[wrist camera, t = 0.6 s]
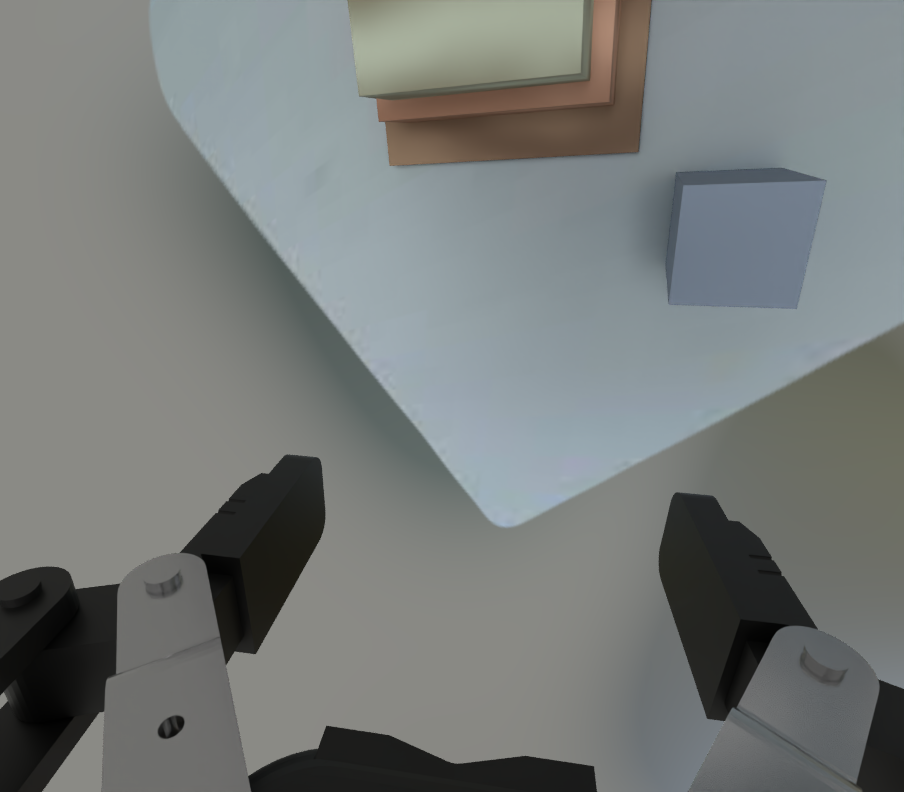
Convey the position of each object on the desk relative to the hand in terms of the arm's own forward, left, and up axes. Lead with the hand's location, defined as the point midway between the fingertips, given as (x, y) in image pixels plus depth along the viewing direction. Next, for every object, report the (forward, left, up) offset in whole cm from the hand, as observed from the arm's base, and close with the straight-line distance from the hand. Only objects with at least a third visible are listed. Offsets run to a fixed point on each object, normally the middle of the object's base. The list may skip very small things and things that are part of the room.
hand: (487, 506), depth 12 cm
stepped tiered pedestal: (-16, -6, -27) cm, 32 cm away
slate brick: (-3, +7, -27) cm, 28 cm away
